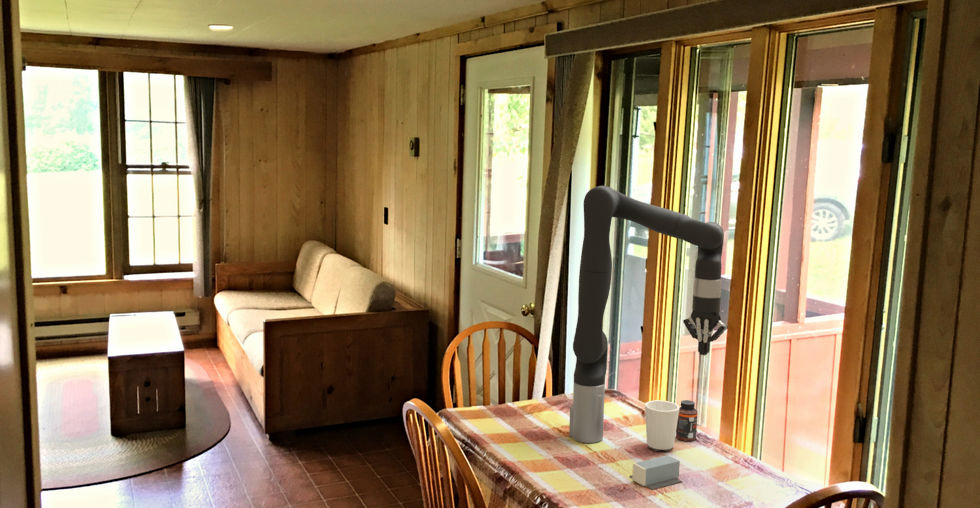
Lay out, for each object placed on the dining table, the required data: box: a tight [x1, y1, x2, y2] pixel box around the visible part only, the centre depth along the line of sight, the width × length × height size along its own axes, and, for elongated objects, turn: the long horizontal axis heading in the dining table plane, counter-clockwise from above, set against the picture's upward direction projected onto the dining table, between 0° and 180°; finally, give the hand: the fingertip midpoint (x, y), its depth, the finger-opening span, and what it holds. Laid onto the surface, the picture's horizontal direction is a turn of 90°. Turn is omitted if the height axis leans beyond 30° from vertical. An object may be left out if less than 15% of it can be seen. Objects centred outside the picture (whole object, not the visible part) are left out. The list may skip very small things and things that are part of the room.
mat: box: [629, 474, 683, 491], centre depth 214 cm, size 9×10×1 cm
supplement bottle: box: [675, 399, 698, 442], centre depth 243 cm, size 6×6×11 cm
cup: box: [644, 399, 680, 453], centre depth 236 cm, size 10×10×13 cm
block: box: [631, 454, 681, 487], centre depth 214 cm, size 4×4×12 cm
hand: (703, 354), depth 229 cm, fingers closed
